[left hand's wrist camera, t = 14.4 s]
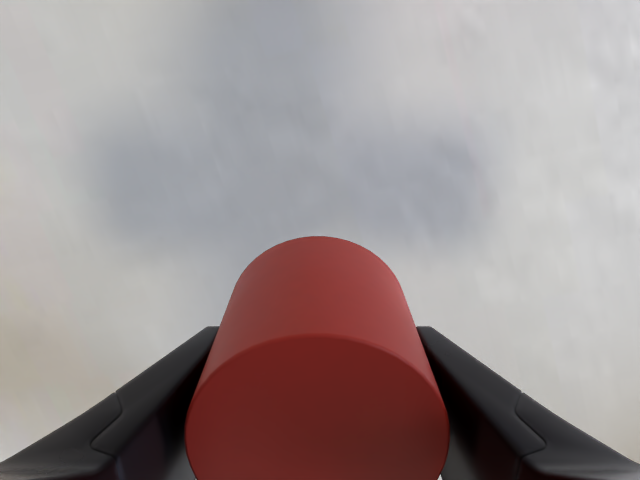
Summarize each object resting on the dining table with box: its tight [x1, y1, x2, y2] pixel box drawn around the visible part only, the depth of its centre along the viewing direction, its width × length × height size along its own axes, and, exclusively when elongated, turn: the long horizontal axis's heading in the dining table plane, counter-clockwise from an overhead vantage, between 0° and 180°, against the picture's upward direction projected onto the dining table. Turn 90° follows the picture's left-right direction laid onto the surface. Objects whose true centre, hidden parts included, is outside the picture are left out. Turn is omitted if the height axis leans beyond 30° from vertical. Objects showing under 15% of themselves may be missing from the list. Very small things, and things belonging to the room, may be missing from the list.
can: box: [184, 236, 450, 480], centre depth 10 cm, size 5×5×5 cm
